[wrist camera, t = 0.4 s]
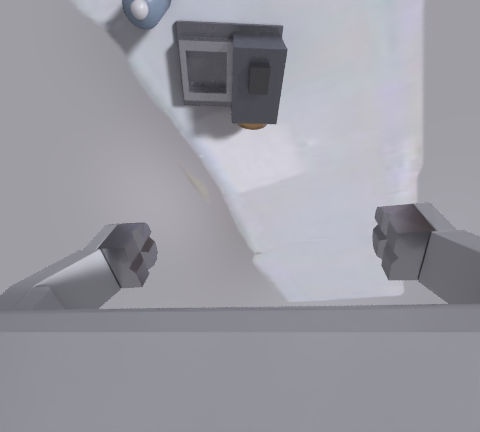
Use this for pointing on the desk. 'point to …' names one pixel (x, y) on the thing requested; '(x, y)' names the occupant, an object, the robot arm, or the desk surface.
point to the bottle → (145, 11)
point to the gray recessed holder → (233, 68)
